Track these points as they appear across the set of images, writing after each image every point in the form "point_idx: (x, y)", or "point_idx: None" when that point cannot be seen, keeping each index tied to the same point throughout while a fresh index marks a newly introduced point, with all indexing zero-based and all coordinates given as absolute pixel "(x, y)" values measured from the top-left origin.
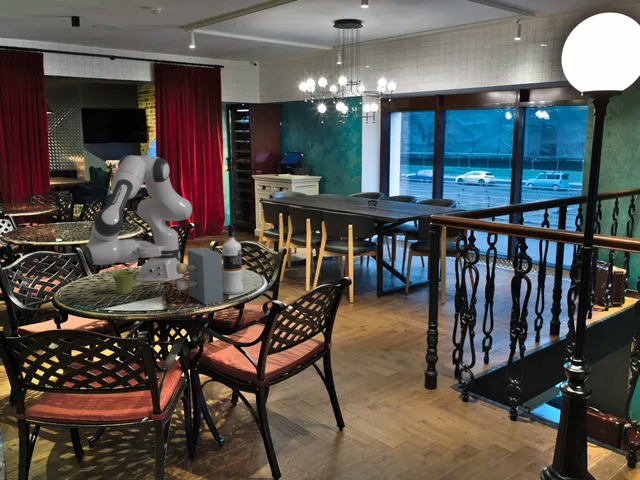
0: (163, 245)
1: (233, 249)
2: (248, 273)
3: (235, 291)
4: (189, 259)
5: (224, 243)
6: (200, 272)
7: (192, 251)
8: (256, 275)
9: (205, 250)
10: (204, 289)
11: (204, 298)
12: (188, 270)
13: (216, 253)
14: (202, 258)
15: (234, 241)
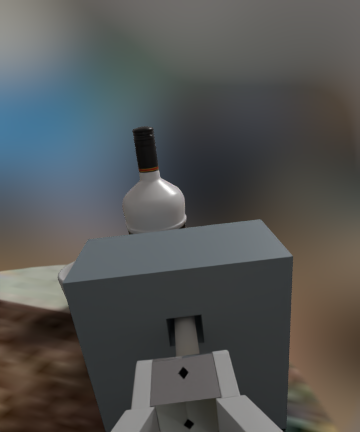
0: (204, 371)
1: (184, 203)
2: (34, 271)
3: None
4: (99, 321)
5: (146, 196)
6: (251, 335)
7: (134, 273)
8: (64, 265)
9: (149, 242)
10: (287, 383)
11: (285, 411)
12: (90, 370)
13: (241, 226)
14: (286, 268)
15: (164, 180)
